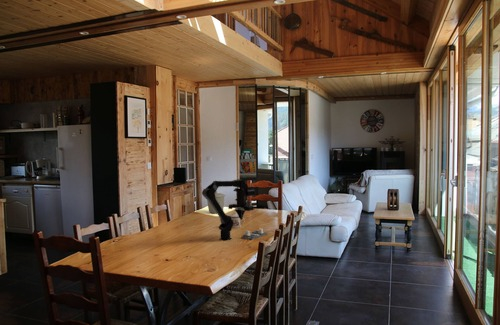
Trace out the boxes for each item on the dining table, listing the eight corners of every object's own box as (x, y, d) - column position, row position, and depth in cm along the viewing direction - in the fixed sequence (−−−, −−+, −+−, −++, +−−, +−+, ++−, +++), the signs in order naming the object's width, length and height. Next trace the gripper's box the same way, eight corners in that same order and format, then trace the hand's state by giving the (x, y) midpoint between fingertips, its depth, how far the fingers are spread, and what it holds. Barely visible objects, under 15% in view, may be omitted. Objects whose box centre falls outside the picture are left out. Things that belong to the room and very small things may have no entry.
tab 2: (261, 234, 270) (261, 229, 270) (258, 233, 272) (257, 228, 272) (263, 233, 273) (263, 228, 272) (260, 232, 274) (260, 228, 274)
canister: (218, 210, 380) (217, 189, 379) (229, 212, 366) (228, 190, 365) (202, 212, 368) (202, 190, 367) (213, 215, 354) (212, 192, 353)
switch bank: (251, 239, 260) (251, 237, 260) (241, 238, 265) (241, 235, 265) (267, 234, 274) (267, 231, 274) (257, 233, 279) (257, 230, 279)
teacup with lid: (228, 228, 298) (228, 213, 297) (230, 225, 307) (230, 211, 306) (243, 228, 296) (243, 213, 296) (245, 225, 305) (245, 211, 305)
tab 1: (248, 236, 265) (248, 231, 265) (244, 235, 267) (244, 231, 266) (250, 235, 267) (250, 230, 267) (247, 234, 269) (247, 230, 269)
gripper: (258, 196, 270) (258, 218, 270) (237, 195, 281) (238, 216, 282) (248, 198, 261) (248, 221, 262) (227, 197, 272) (228, 218, 273)
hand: (241, 219), depth 270 cm, fingers closed
